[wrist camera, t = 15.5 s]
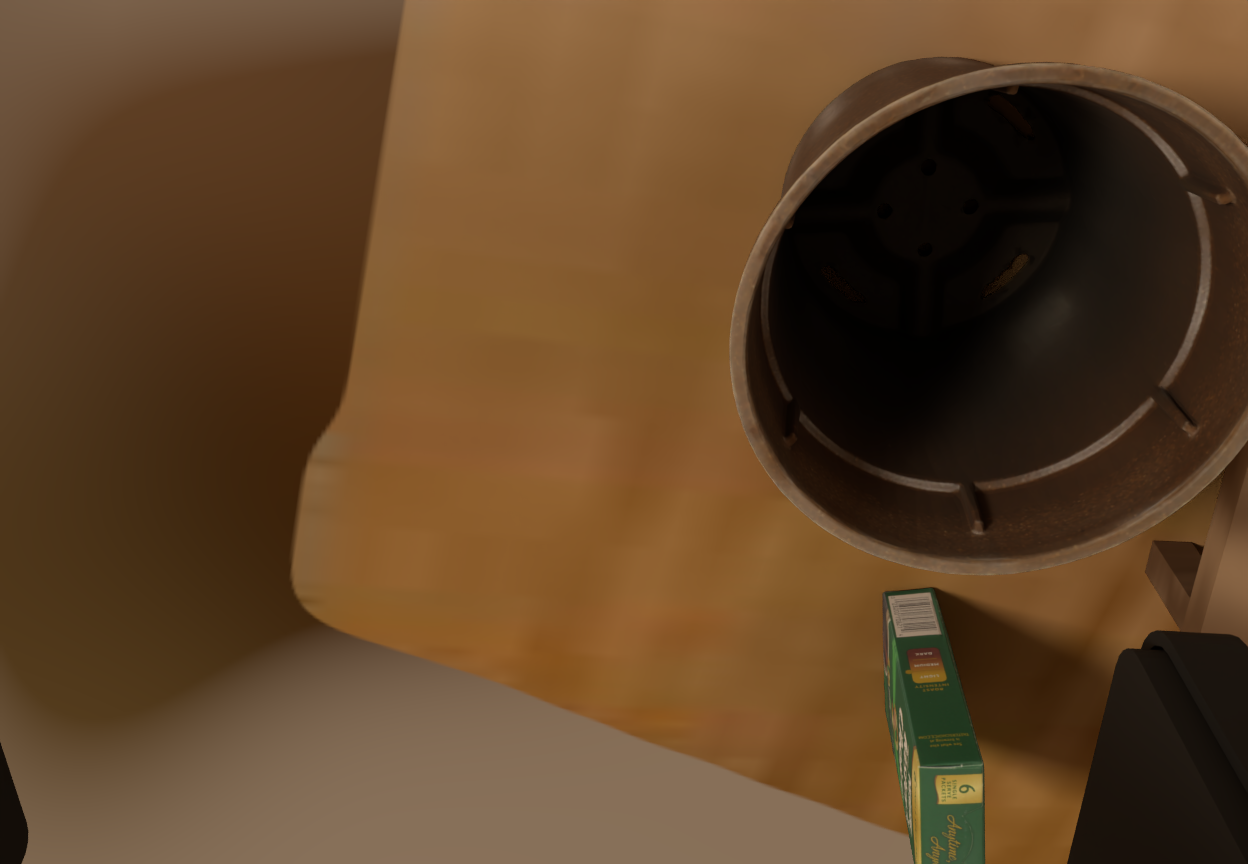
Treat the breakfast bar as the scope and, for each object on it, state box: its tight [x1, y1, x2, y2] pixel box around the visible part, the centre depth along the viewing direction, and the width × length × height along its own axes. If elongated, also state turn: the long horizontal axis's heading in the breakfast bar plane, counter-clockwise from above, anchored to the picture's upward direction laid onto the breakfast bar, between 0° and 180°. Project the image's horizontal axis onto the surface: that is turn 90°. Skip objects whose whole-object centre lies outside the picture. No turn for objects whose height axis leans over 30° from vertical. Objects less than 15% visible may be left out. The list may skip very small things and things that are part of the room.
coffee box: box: [883, 588, 985, 864], centre depth 51 cm, size 8×3×13 cm, turn 7°
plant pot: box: [729, 57, 1248, 575], centre depth 40 cm, size 16×16×16 cm
